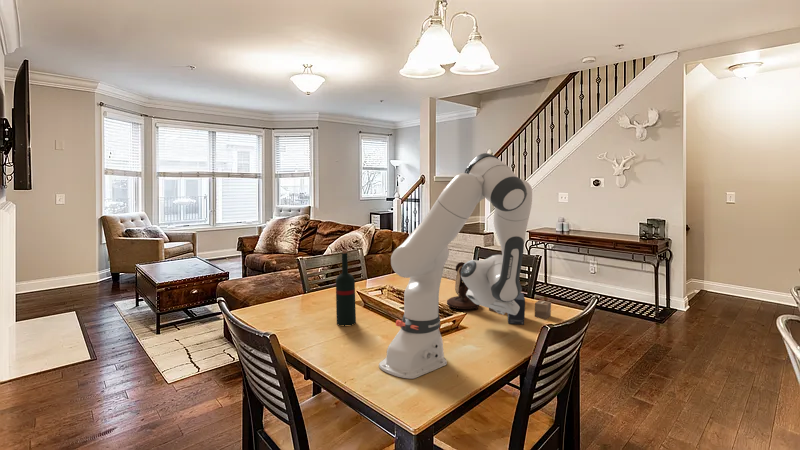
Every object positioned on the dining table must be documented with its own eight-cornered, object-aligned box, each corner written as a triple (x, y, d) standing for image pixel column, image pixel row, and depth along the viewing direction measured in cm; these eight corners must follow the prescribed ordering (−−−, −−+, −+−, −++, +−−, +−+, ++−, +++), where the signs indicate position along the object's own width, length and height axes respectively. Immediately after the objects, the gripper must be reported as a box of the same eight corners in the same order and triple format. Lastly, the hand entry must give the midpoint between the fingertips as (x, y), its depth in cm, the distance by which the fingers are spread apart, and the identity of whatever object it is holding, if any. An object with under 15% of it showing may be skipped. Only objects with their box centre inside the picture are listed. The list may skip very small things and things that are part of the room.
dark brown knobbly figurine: (443, 302, 195) (444, 261, 192) (474, 301, 196) (475, 260, 194) (450, 312, 180) (451, 267, 178) (483, 311, 181) (484, 266, 179)
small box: (525, 325, 164) (525, 299, 163) (508, 324, 166) (508, 298, 164) (523, 316, 175) (523, 292, 173) (507, 315, 176) (507, 291, 175)
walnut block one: (546, 319, 171) (546, 304, 170) (534, 316, 174) (535, 302, 174) (550, 316, 175) (551, 301, 174) (538, 313, 178) (539, 299, 177)
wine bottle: (358, 317, 174) (356, 247, 171) (354, 326, 164) (352, 251, 161) (339, 317, 175) (337, 247, 171) (334, 326, 165) (332, 251, 161)
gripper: (514, 291, 149) (528, 312, 157) (469, 281, 165) (484, 300, 172) (506, 306, 147) (521, 326, 154) (462, 294, 162) (477, 313, 170)
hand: (501, 312), depth 163 cm, fingers closed
